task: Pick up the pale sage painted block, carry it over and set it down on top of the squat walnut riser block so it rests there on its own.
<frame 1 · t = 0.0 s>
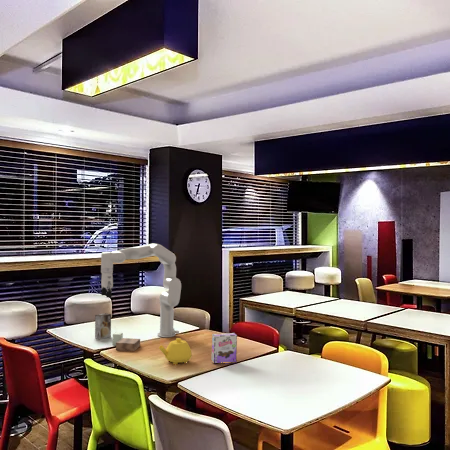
hand: (106, 296, 302), 31 cm above the table, tool pointing down, fingers open, 9 cm apart
teapot: (174, 363, 263), on the table
riser: (128, 348, 292), on the table
coffee box: (102, 337, 318), on the table
sage block: (117, 344, 301), on the table
candy box: (223, 362, 266), on the table
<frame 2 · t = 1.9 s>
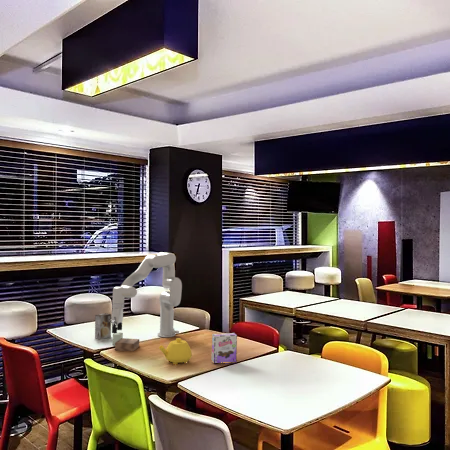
hand: (116, 331, 300), 8 cm above the table, tool pointing down, fingers open, 9 cm apart
nothing on the table moved.
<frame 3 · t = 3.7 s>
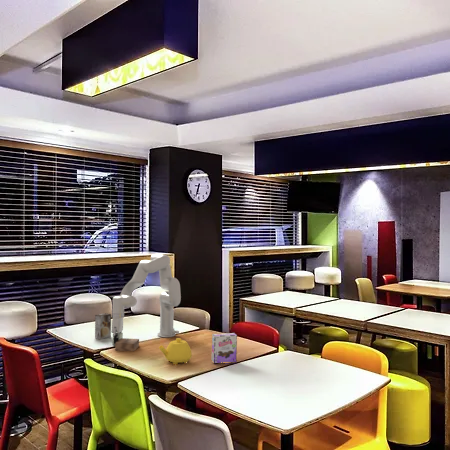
hand: (117, 342, 301), 1 cm above the table, tool pointing down, fingers closed on sage block, 5 cm apart
sage block: (117, 344, 301), on the table, touching gripper
everything else where it was.
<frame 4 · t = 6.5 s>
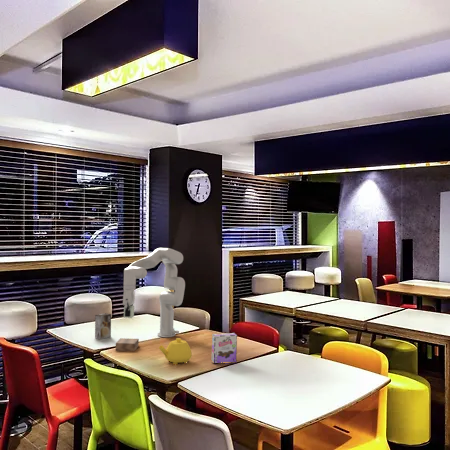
hand: (128, 315, 292), 21 cm above the table, tool pointing down, fingers closed on sage block, 5 cm apart
sage block: (128, 317, 292), point 20 cm above the table, touching gripper
everything else where it was.
when the fingers open (7 cm above the table, at t = 9.7 s): sage block drops 2 cm, point 5 cm above the table.
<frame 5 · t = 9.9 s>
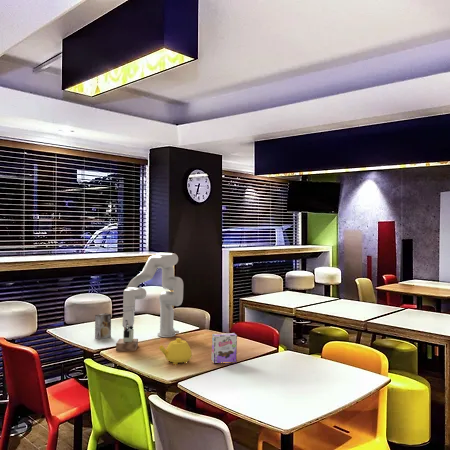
hand: (128, 335, 292), 8 cm above the table, tool pointing down, fingers open, 7 cm apart
sage block: (128, 340, 292), point 5 cm above the table
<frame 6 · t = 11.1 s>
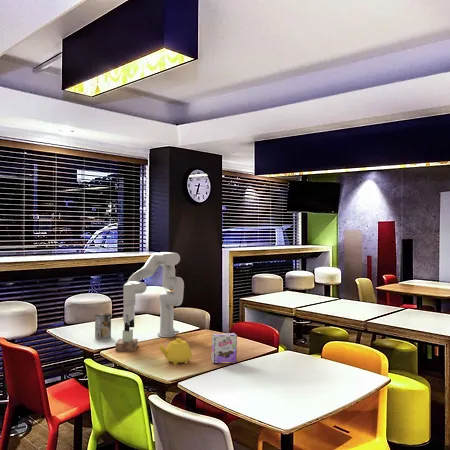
hand: (129, 329, 292), 12 cm above the table, tool pointing down, fingers open, 9 cm apart
riser: (126, 348, 291), on the table, touching sage block
sage block: (127, 340, 292), point 5 cm above the table, touching riser
everything else where it was.
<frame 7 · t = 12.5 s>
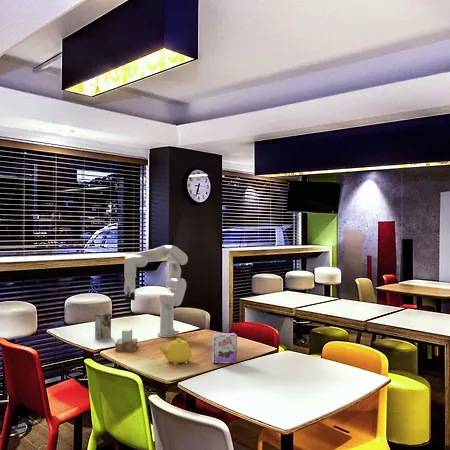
hand: (130, 301, 298), 29 cm above the table, tool pointing down, fingers open, 9 cm apart
riser: (126, 348, 291), on the table
sage block: (127, 341, 291), point 5 cm above the table
everything else where it was.
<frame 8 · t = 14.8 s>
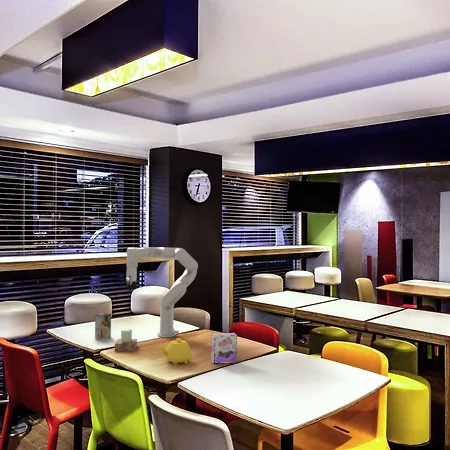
hand: (131, 289, 322), 33 cm above the table, tool pointing down, fingers open, 9 cm apart
riser: (125, 349, 291), on the table, touching sage block
sage block: (126, 341, 291), point 5 cm above the table, touching riser
everything else where it was.
at the end: sage block 0.5 cm from the riser (horizontally); sage block point 4.6 cm above the table; sage block tilted 1° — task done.
